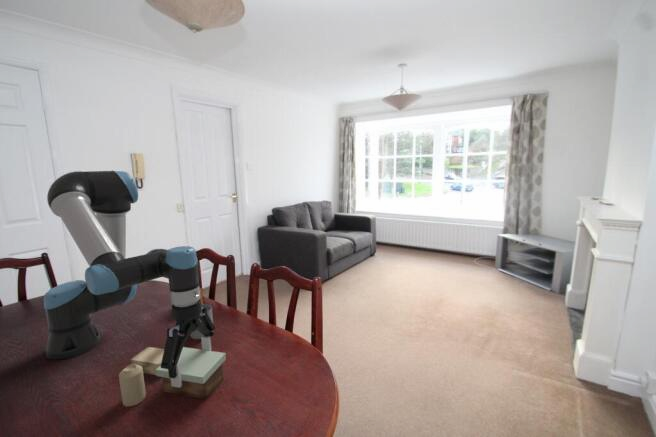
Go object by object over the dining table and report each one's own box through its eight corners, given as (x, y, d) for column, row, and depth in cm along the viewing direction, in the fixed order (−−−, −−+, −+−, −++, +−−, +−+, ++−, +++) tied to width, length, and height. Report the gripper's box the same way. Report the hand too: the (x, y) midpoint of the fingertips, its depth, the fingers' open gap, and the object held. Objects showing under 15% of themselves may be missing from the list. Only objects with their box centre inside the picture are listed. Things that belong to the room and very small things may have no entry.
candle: (129, 392, 87) (125, 361, 85) (149, 391, 87) (145, 360, 85) (118, 407, 81) (113, 374, 80) (139, 406, 82) (135, 372, 80)
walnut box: (164, 391, 87) (162, 372, 86) (183, 373, 95) (181, 355, 94) (206, 399, 84) (205, 379, 83) (223, 379, 91) (221, 361, 90)
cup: (205, 340, 113) (203, 315, 111) (185, 338, 114) (183, 313, 113) (217, 328, 121) (215, 305, 119) (199, 326, 123) (197, 303, 121)
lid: (156, 376, 85) (155, 369, 84) (183, 352, 95) (182, 347, 95) (203, 383, 81) (202, 377, 81) (225, 359, 92) (225, 353, 91)
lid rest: (131, 370, 96) (130, 359, 95) (149, 357, 103) (148, 346, 102) (163, 376, 93) (162, 364, 93) (179, 362, 100) (178, 351, 99)
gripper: (164, 325, 72) (173, 403, 75) (223, 285, 96) (228, 347, 99) (138, 322, 74) (148, 399, 77) (202, 284, 98) (208, 344, 101)
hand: (193, 370), depth 88 cm, fingers open, 13 cm apart
